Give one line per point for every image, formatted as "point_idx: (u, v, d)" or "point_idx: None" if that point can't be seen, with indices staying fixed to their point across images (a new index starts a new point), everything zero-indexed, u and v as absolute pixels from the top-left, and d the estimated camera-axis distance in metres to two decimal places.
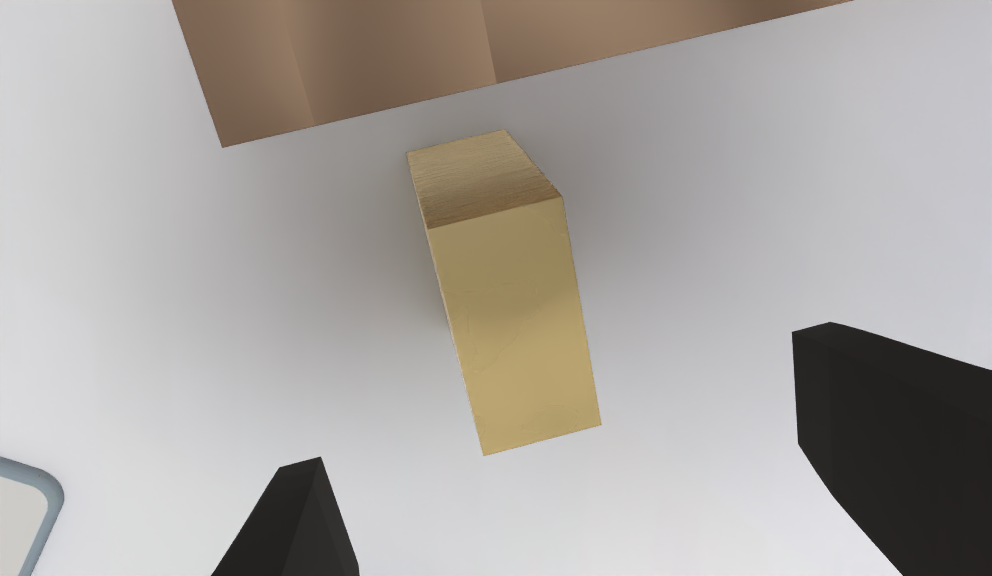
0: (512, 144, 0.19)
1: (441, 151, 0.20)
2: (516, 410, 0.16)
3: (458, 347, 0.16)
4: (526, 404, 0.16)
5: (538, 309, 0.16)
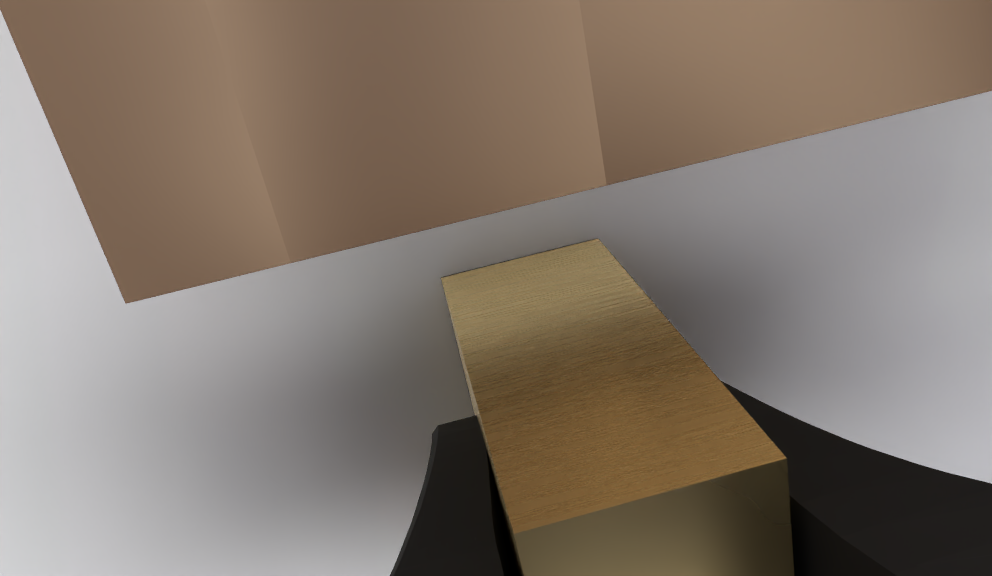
0: (623, 278, 0.11)
1: (501, 282, 0.12)
2: None
3: None
4: None
5: None
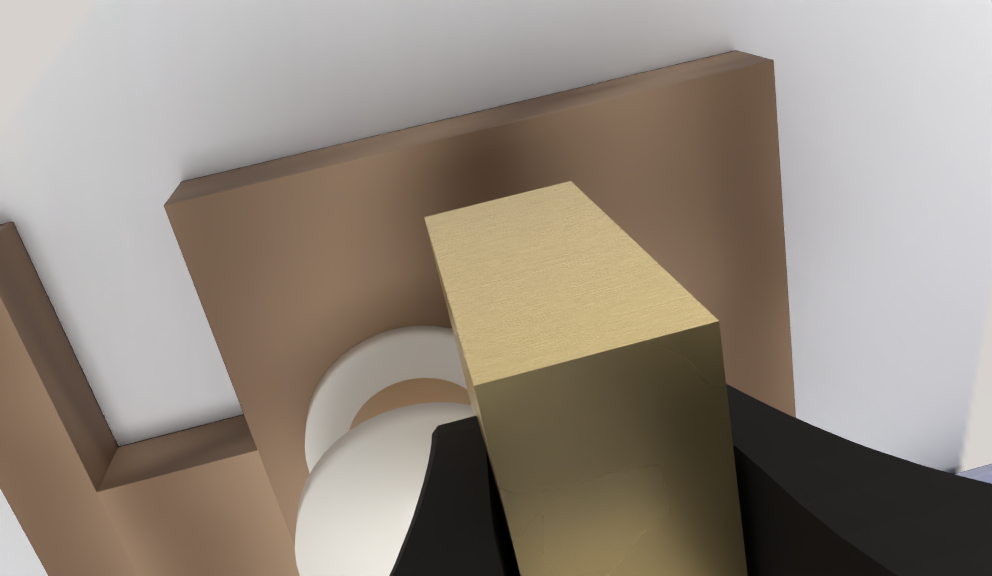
0: (590, 207, 0.12)
1: (478, 217, 0.13)
2: None
3: None
4: None
5: (667, 512, 0.09)
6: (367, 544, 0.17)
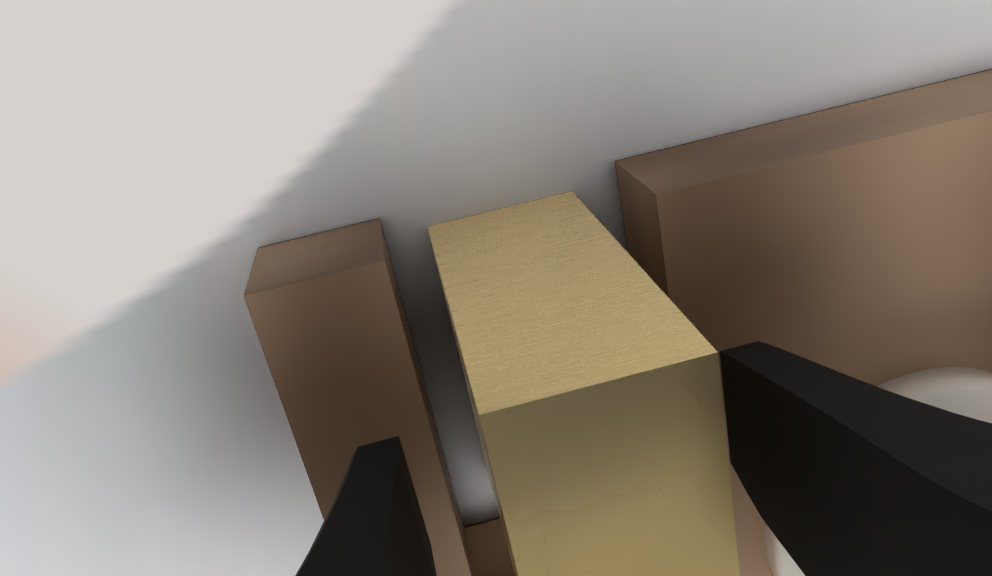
0: (592, 222, 0.12)
1: (481, 228, 0.13)
2: None
3: None
4: None
5: (664, 532, 0.09)
6: None
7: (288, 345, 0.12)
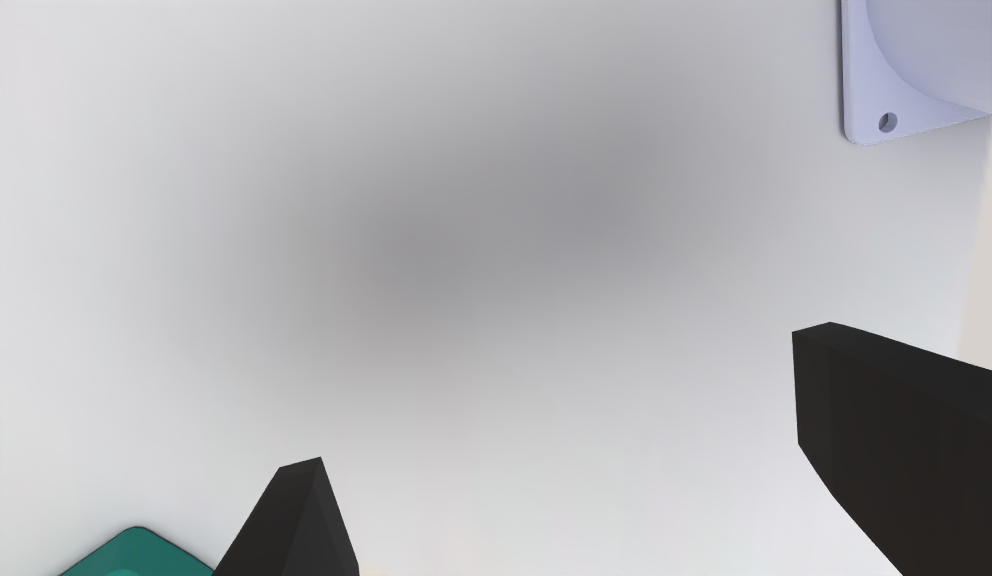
0: None
1: None
2: None
3: None
4: None
5: None
6: None
7: None
